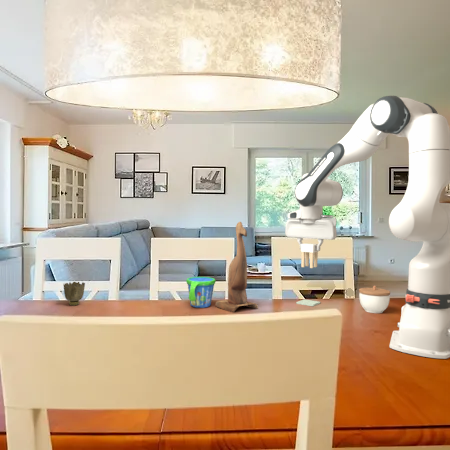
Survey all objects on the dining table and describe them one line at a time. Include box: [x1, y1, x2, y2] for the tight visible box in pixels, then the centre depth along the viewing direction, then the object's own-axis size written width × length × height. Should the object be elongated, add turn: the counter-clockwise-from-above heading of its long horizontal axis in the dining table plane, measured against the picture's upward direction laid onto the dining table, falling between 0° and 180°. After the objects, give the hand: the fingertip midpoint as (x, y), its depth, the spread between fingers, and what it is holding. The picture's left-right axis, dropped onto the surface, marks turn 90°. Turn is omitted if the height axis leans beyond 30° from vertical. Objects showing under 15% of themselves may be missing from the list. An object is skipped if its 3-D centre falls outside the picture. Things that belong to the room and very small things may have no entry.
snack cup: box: [185, 276, 216, 309], centre depth 158 cm, size 16×10×10 cm
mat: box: [295, 298, 321, 307], centre depth 166 cm, size 7×7×1 cm
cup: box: [63, 281, 86, 307], centre depth 155 cm, size 8×7×8 cm
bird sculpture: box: [215, 221, 259, 314], centre depth 155 cm, size 11×12×32 cm
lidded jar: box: [358, 285, 391, 314], centre depth 155 cm, size 11×11×9 cm
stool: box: [300, 242, 319, 269], centre depth 165 cm, size 5×5×9 cm
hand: (309, 250), depth 165 cm, fingers closed on stool, 5 cm apart
